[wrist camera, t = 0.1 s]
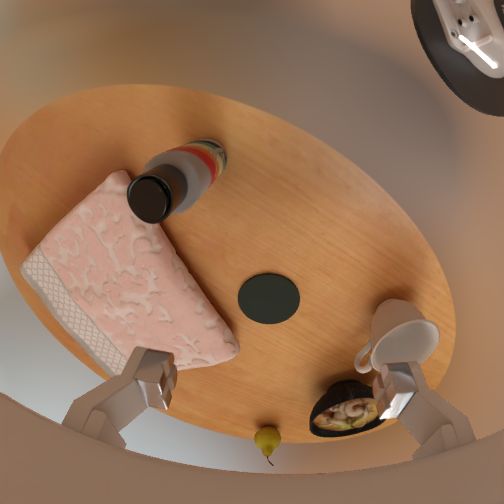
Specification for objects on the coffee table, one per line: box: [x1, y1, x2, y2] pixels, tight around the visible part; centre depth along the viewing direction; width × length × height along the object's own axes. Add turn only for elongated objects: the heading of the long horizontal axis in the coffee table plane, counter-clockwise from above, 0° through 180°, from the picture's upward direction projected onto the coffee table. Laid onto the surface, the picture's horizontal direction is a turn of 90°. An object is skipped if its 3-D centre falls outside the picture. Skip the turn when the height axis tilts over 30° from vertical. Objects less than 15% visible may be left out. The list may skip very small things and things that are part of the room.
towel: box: [19, 170, 240, 378], centre depth 46 cm, size 36×34×6 cm
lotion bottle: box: [127, 139, 227, 224], centre depth 28 cm, size 6×6×20 cm
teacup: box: [354, 299, 440, 373], centre depth 42 cm, size 12×15×10 cm
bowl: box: [309, 380, 386, 437], centre depth 52 cm, size 17×17×10 cm
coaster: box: [238, 273, 300, 324], centre depth 46 cm, size 10×10×1 cm
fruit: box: [254, 426, 281, 466], centre depth 61 cm, size 7×7×12 cm
